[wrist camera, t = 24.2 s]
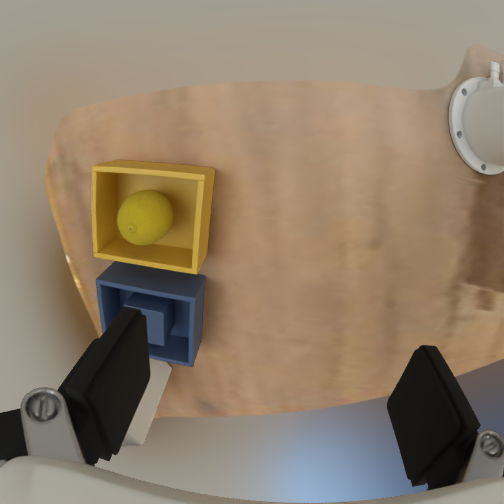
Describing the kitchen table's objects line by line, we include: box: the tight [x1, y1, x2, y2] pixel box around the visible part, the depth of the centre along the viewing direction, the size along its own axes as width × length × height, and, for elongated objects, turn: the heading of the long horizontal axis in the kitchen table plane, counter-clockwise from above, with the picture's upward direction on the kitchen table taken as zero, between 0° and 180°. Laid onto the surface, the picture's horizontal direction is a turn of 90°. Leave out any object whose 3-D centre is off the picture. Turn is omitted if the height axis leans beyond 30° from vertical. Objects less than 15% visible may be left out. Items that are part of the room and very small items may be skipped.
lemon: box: [117, 190, 173, 245], centre depth 31 cm, size 6×6×8 cm
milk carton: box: [112, 358, 172, 455], centre depth 35 cm, size 7×7×19 cm
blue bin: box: [96, 261, 205, 367], centre depth 37 cm, size 10×12×6 cm
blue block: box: [124, 292, 175, 346], centre depth 37 cm, size 5×5×5 cm
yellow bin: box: [92, 160, 215, 274], centre depth 32 cm, size 10×12×6 cm
